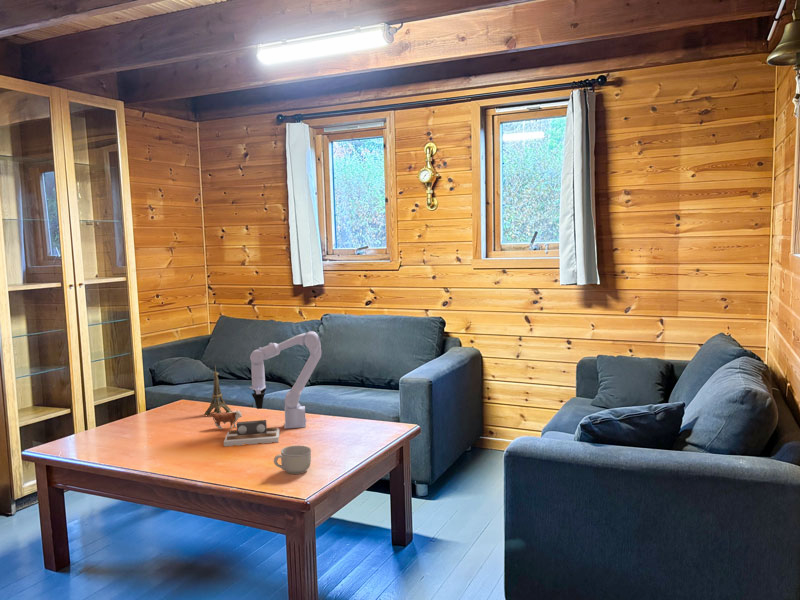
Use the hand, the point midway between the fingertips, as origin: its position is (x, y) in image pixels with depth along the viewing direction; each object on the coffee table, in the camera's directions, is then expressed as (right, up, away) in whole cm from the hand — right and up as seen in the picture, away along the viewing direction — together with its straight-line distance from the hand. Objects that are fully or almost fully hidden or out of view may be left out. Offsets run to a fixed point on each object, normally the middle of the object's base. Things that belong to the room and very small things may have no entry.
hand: (259, 406), depth 282 cm
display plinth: (+1, -11, -16) cm, 20 cm away
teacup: (+25, -14, -58) cm, 64 cm away
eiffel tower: (-27, -9, +29) cm, 41 cm away
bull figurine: (-15, -11, +3) cm, 18 cm away
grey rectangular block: (0, -9, -16) cm, 19 cm away
